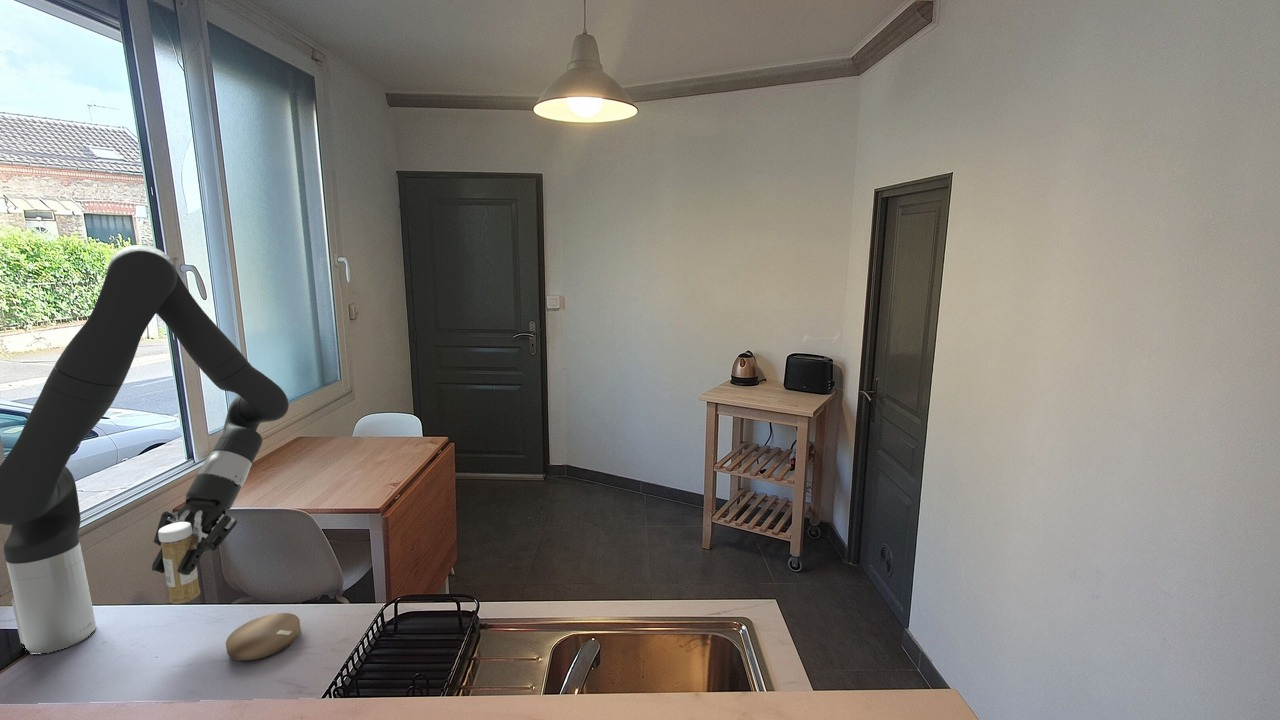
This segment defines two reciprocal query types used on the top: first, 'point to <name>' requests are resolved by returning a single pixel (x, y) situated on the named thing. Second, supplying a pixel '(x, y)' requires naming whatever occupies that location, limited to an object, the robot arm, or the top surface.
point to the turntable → (263, 636)
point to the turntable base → (266, 656)
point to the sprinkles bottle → (178, 562)
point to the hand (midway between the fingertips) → (170, 572)
